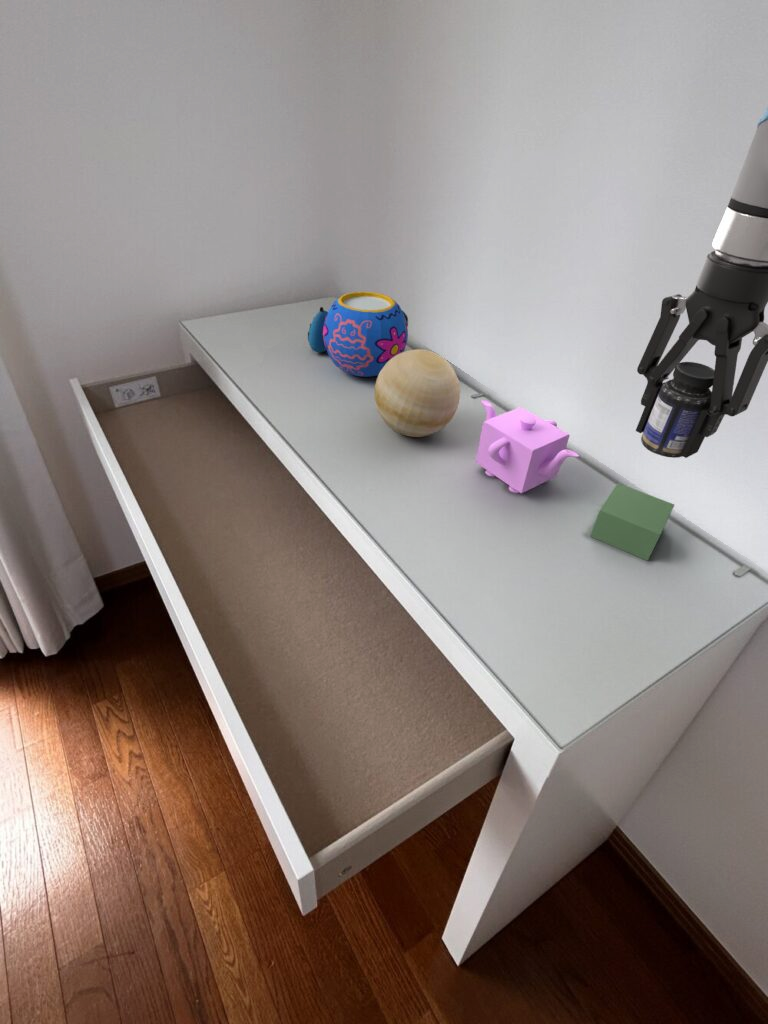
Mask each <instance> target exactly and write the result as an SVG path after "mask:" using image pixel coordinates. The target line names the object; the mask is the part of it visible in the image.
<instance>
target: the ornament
mask: <svg viewBox="0 0 768 1024" xmlns="http://www.w3.org/2000/svg"><path fill="white" fill-rule="evenodd" d="M327 313H328V311H327V310H325V309H324V307H323V306H320V308H319V311H318V312H317V313H316V314H315V316H314V317H313V318H312V321H311V323H309V329H308V332H307V341H308V345H309V347H310V349H311V350H312V351H313V352H315V353H317V354H318V353H324V352H327V349H326V347H325V343H324V338H323V328H324V322H325V318H326V316H327Z"/></svg>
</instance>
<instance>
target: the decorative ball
mask: <svg viewBox="0 0 768 1024" xmlns="http://www.w3.org/2000/svg"><path fill="white" fill-rule="evenodd" d="M460 398H461V386H460V380H459V378H458V376H457V372H456V371H455V369H454V367H453V366H452V365H451V364H450V362H448V361H447V359H445V357H443V356H442V355H440V354H438V353H435V352H434V351H430V350H428V349H421V348H420V349H419V348H418V349H409V350H404V352H402V353H400V354H398V355H396V356H394V357H393V358H392V359H391V360H389V361H388V362H387V363H386V364H385V366H384V367H383V368H382V370H381V371H380V373H379V375H377V377H376V380H375V385H374V403H375V407H376V410H377V412H378V414H379V416H380V417H381V419H382V421H383V422H384V423H385V424H386V425H387V426H388V427H389V428H391V429H392V430H393V431H395V432H396V433H399V434H401V435H404V436H408V437H411V438H412V437H413V438H421V437H422V438H423V437H427V436H430V435H434V434H435V433H437V432H439V431H441V430H442V429H444V427H446V426H447V424H449V422H451V421H452V420H453V418H454V416H455V414H456V412H457V410H458V407H459V405H460Z"/></svg>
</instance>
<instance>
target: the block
mask: <svg viewBox="0 0 768 1024" xmlns="http://www.w3.org/2000/svg"><path fill="white" fill-rule="evenodd" d="M674 507H675V504H674V503H672V502H670V501H667V500H664V499H660V498H659V497H656V496H654V495H650V494H648V493H646V492H643V491H641V490H637V489H635V488H632V487H629V486H627V485H624V484H622V483H619V482H616V484H615V486H614V487H613V489H612V490H611V491H610V494H609V495H608V497H607V498H606V500H605V501H604V503H603V504H602V506H601V507H600V508H599V511H598V514H597V516H596V519H595V522H594V524H593V526H592V529H591V532H590V534H589V537H591V538H594V539H596V540H598V541H601V542H602V543H604V544H607V545H610V546H612V547H614V548H616V549H619V550H621V551H623V552H626V553H628V554H630V555H633V556H636V557H638V558H640V559H643V560H645V561H649V560H650V557H651V555H652V553H653V551H654V549H655V547H656V545H657V543H658V540H659V539H660V537H661V535H662V532H663V530H664V529H665V526H666V524H667V522H668V520H669V518H670V516H671V514H672V511H673V509H674Z"/></svg>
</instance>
